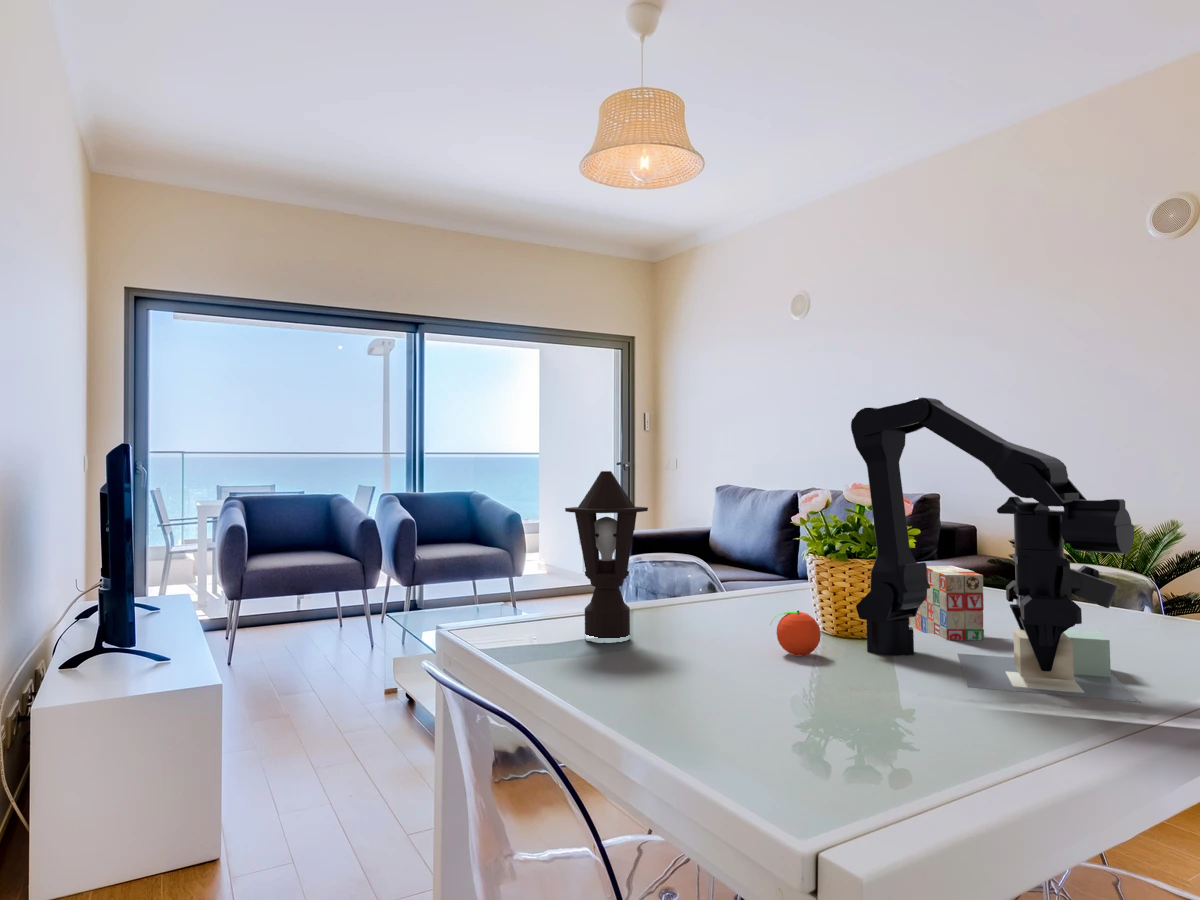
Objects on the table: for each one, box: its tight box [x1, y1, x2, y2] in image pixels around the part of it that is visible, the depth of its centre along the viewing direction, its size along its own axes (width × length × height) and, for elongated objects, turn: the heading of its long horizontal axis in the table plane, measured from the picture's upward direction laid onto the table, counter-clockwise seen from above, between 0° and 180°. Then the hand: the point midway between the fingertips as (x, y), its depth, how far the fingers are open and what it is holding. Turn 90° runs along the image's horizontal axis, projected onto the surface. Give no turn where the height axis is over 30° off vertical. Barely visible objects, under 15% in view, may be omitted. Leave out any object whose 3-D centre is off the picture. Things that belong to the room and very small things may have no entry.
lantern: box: [564, 470, 649, 638], centre depth 135 cm, size 15×15×30 cm
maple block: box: [1013, 629, 1074, 681], centre depth 101 cm, size 6×6×5 cm
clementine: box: [769, 610, 822, 657], centre depth 121 cm, size 8×7×7 cm
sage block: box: [1063, 629, 1112, 677], centre depth 107 cm, size 6×6×5 cm
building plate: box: [957, 653, 1142, 703], centre depth 104 cm, size 19×20×1 cm
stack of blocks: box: [909, 565, 985, 641], centre depth 137 cm, size 21×6×12 cm, turn 177°
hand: (1042, 665), depth 101 cm, fingers closed on maple block, 6 cm apart
